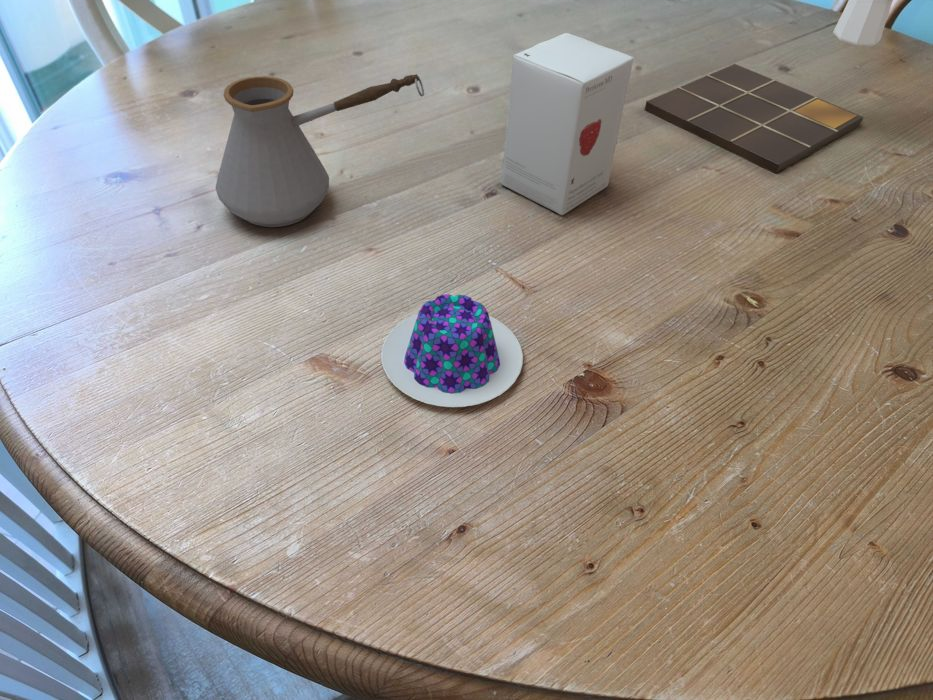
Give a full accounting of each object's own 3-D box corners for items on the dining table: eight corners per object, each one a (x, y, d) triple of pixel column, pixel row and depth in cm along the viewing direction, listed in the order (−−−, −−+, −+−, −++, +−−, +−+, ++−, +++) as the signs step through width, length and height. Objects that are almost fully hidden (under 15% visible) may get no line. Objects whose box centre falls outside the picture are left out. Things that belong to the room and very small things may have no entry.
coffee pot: (208, 236, 75) (174, 93, 65) (234, 175, 83) (207, 40, 73) (421, 243, 76) (421, 103, 65) (426, 182, 84) (426, 49, 73)
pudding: (512, 424, 59) (518, 378, 55) (364, 400, 60) (361, 353, 57) (529, 324, 68) (535, 279, 64) (400, 305, 69) (399, 259, 65)
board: (860, 125, 98) (864, 115, 97) (775, 173, 88) (779, 163, 88) (732, 71, 109) (734, 62, 108) (644, 109, 99) (646, 100, 98)
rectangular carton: (562, 218, 80) (583, 83, 70) (499, 185, 84) (509, 53, 74) (611, 186, 85) (637, 55, 74) (548, 157, 89) (565, 29, 79)
